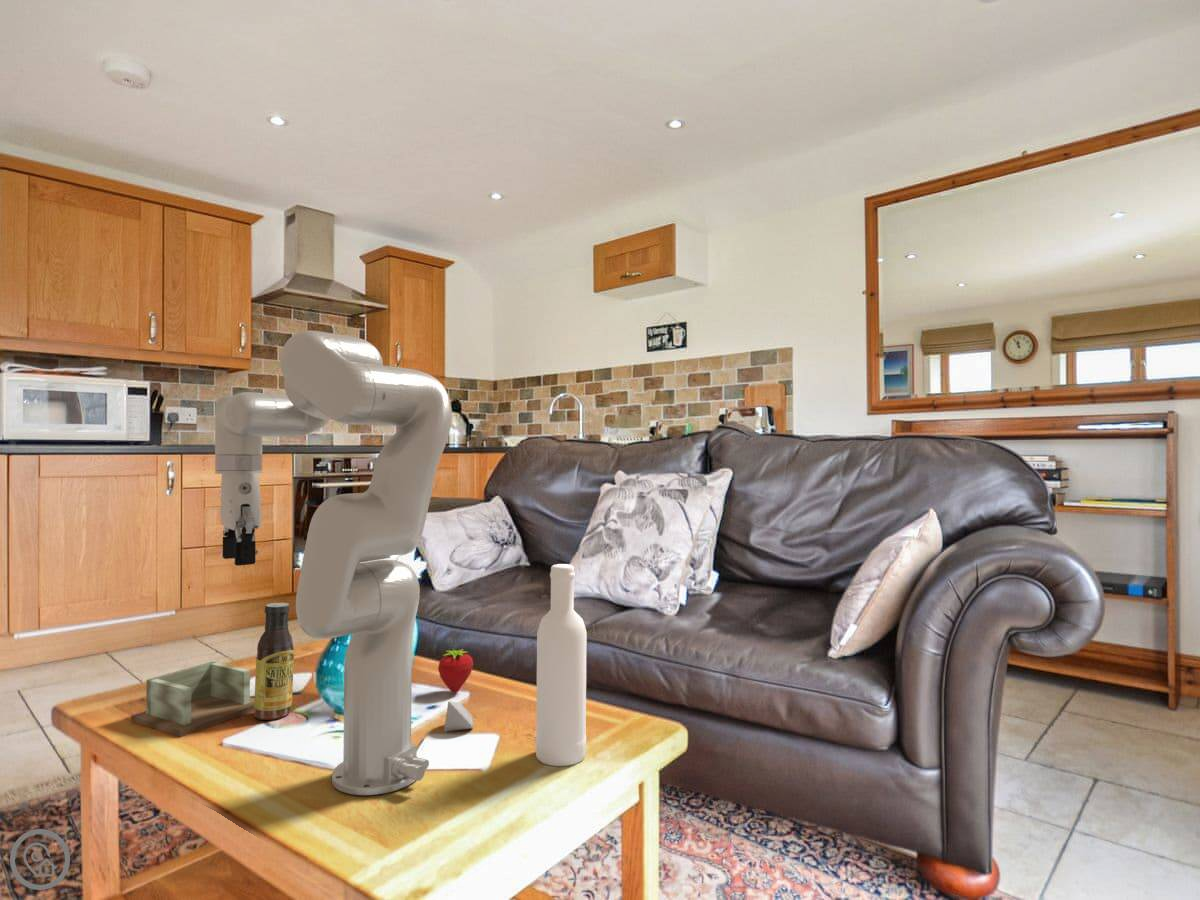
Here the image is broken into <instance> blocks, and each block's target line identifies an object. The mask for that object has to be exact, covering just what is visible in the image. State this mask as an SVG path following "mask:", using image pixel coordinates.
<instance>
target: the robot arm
mask: <svg viewBox="0 0 1200 900" xmlns="http://www.w3.org/2000/svg"><path fill="white" fill-rule="evenodd" d="M383 361H384V360H383V357H382V355H381V353H380V351H379V350H378V348H376V347H375V345H374V344H372V343H370V342H369V341H367V340H366V339H364V338H360V337H356V336H352V335H344V334H338V333H333V332H332V333H330V332H327V331H326V332H325V331H318V330H311V329H310V330H309V329H308V330H302V331H299V332H297V333H295V334H293V335H292V336H291V337H290V338H289V339H287V341H286V342H285V343H284V344H283V347H282V350H281V353H280V357H279V366H280V371H281V375H282V376H283V378H284V381H283V383H284V384H283V386H284V391H285V394H284V393H273V392H272V393H270V392H256V391H255V392H254V391H243V392H242V391H241V392H239V393H236V394H234V395H233V394H232V395H222V396H220V397H218V398H217V399H216V402H215V404H214V405H215V408H214V409H215V410H214V411H215V413H214V416H215V417H214V421H215V423H214V426H215V428H214V432H215V433H214V436H215V437H214V444H215V445H214V474H215V475H216V474H219V475H220V474H221V479H220V481H221V483H220V522H221V526H223V530H222V558H223V559H225V560H229V559H234V565H235V566H237V567H239V566H248V565H249V566H250V565H255V564H256V549H257V548H256V545H257V544H256V533H255V532H256V530H259V529H260V528H261V527H262V508H261V507H262V506H261V505H262V504H261V503H262V502H261V487H260V486H261V485H260V479H259V478H260V477H259V474H263V437H275V438H276V437H277V438H278V437H283V438H298V437H303V436H306V435H310V434H312V433H313V432H316V431H318V430H319V429H322V428H323V427H325V426H326V425H327V424H328V423H329V422H330V420H332V421H334V422H337V423H340V424H344V425H352V426H353V425H354V426H355V425H357V426H358V425H359V426H383V427H385V426H390V427H391V426H394V427H396V428H397V431H396V432H395V433H394V434H393V435H392V436H391V437H390V438H389V439H388V440H387V442H386V443H385V444H384V446H383V447H382V448H381V450H380V451H379V453H378V455H377V457H376V460H375V462H374V467H373V472H372V477H371V480H370V484H369V486H368V488H367V490H365V491H364V492H356V493H343V494H337V495H334V496H333V495H332V496H331V497H329V498H327V499H325V500H324V501H322V503H321V504H320V505H319V506H318V507H317V508H316V510H315V512H314V513H313V515H312V517H311V520H310V523H309V527H308V531H307V536H306V539H305V540H306V541H305V547H304V550H303V551H304V552H303V557H302V562H301V568H300V572H299V578H298V584H297V588H296V597H295V612H296V619H297V621H298V624H299V627H300V628H301V630H302V631H303V632H304V633H305V634H306V635H307V636H308V637H311V638H312V639H313V638H314V639H318V640H319V639H320V640H330V639H333V638H335V639H336V638H338V637H343V636H347V635H352V636H351V638H350V641H349V643H348V645H347V648H346V651H345V657H344V662H343V663H344V664H343V666H344V667H343V670H344V671H343V761H342V762H340V763H339V764H337V766H336V767H335V768H334V769H333V771H332V773H331V783H332V786H333V787H334V788H335V789H337V790H338V791H340V792H342V793H344V794H349V795H355V796H375V795H376V796H377V795H383V794H388V793H391V792H392V793H393V792H395V791H398V790H401V789H403V788H406V787H407V786H410V785H411V784H412V783H414V782H415V781H418V782H419V781H422V780H423V778H424V776H425V773H426V770H428V768H429V765H430V761H429V760H428V759H425V758H421V757H418V755H417V747H418V746H417V744H413V743H412V690H413V689H412V684H413V683H412V681H413V678H412V677H413V676H412V675H413V674H412V673H413V670H412V669H413V642H414V640H413V639H414V631H415V630H414V628H415V623H416V617H417V613H418V608H419V605H420V604H419V602H420V594H421V589H420V588H421V587H420V582H419V579H418V577H417V574H416V572H415V571H414V569H412V567H411V566H409V565H408V564H407V563H404V562H403V561H399V560H394V559H392V558H397V557H401V556H406V555H408V554H410V553H412V552H414V551H415V549H416V548H417V547H418V545H419V543H420V542H421V539H422V536H423V533H424V529H425V524H426V520H427V515H428V511H429V505H430V502H431V499H432V497H431V496H432V494H433V490H434V489H433V488H434V482H435V478H436V473H437V469H438V465H439V463H440V460H441V458H442V455H443V453H444V450H445V447H446V445H447V442H448V438H449V434H450V433H451V427H452V417H453V416H452V415H453V412H452V411H453V408H452V404H451V400H450V396H449V394H448V392H447V389H446V388H445V386H444V384H442V382H440V381H439V379H437V378H435V377H434V376H432V375H431V374H429V373H426V372H423V371H421V370H417V369H412V368H406V367H400V366H391V365H390V366H389V365H384V362H383Z"/></svg>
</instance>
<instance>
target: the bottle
mask: <svg viewBox="0 0 1200 900" xmlns="http://www.w3.org/2000/svg"><path fill="white" fill-rule="evenodd" d="M549 577H550V610H549V611H548V612H547V613H546V614H545V615H544V616H543V617H542V618H541V620H540V623H539V625H538V629H537V632H536V639H537V640H536V709H535V711H536V713H535V714H536V721H535V723H536V724H535V729H536V730H535V731H536V733H535V756H536V758H537V760H538V761H539V762H541V763H542V764H544V765H548V766H553V767H569V766H574V765H576V764H578V763H581V761H583V760H584V759H585V757H586V750H587V749H586V747H587V731H586V730H587V728H586V724H587V723H586V722H587V644H588V643H587V640H588V639H587V635H588V634H587V633H588V632H587V629H586V625H585V622H584V619H583V618H582V617H581V615H580V614H578V613H577V612H576V611H575V607H574V606H575V603H574V602H575V601H574V598H575V597H574V596H575V595H574V594H575V593H574V590H575V589H574V588H575V587H574V586H575V577H576V573H575V566H573V565H572V564H569V563H557V564H553V565H552V566H551V567H550V573H549Z"/></svg>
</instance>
